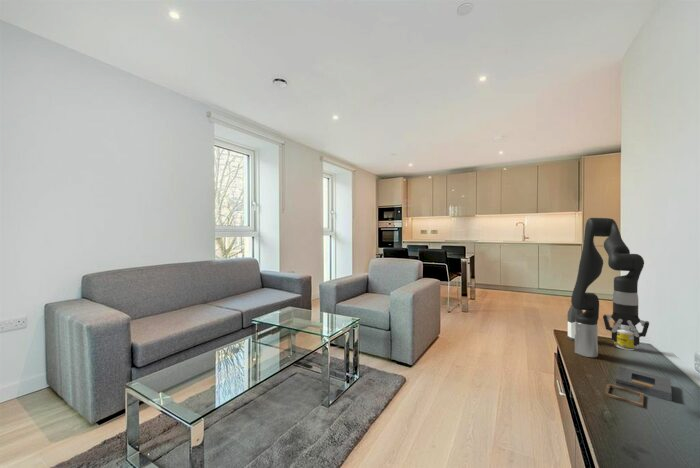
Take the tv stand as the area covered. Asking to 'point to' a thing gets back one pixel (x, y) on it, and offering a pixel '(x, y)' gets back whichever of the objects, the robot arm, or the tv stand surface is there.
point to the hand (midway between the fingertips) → (625, 342)
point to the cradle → (625, 391)
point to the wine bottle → (572, 322)
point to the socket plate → (644, 383)
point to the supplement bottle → (625, 337)
